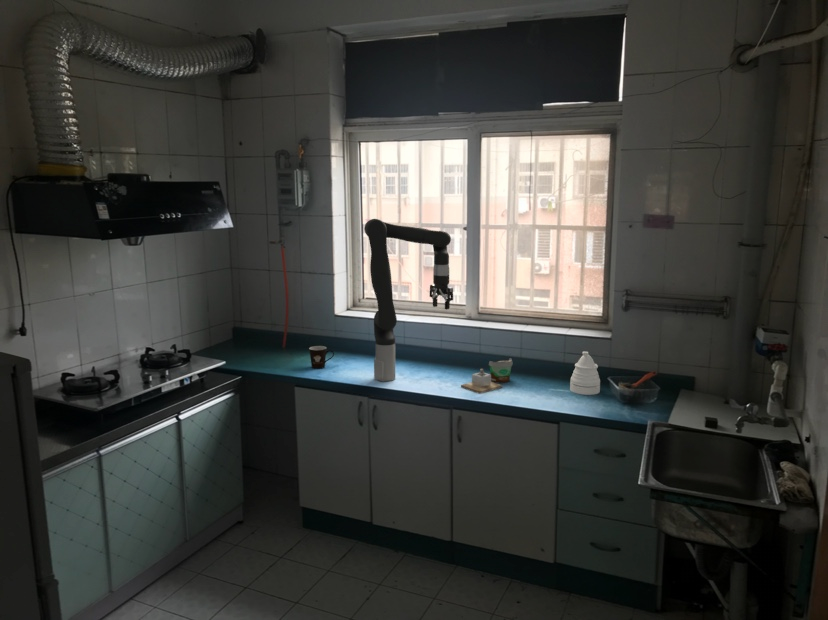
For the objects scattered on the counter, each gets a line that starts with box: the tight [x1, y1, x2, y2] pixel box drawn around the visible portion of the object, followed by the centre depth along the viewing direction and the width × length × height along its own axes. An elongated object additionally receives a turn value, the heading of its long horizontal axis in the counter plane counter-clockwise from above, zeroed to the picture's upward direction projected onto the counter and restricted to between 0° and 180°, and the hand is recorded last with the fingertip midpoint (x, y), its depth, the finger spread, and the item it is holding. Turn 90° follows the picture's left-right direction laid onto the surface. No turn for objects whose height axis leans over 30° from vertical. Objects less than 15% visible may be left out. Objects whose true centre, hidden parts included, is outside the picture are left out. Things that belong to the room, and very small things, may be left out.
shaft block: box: [460, 368, 503, 394], centre depth 292 cm, size 14×12×8 cm
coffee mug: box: [308, 345, 335, 370], centre depth 324 cm, size 12×9×10 cm
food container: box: [488, 357, 514, 384], centre depth 301 cm, size 12×6×10 cm, turn 117°
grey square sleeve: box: [471, 372, 491, 388], centre depth 293 cm, size 6×6×5 cm
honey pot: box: [569, 351, 601, 396], centre depth 287 cm, size 13×13×18 cm
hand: (441, 307), depth 306 cm, fingers open, 8 cm apart
